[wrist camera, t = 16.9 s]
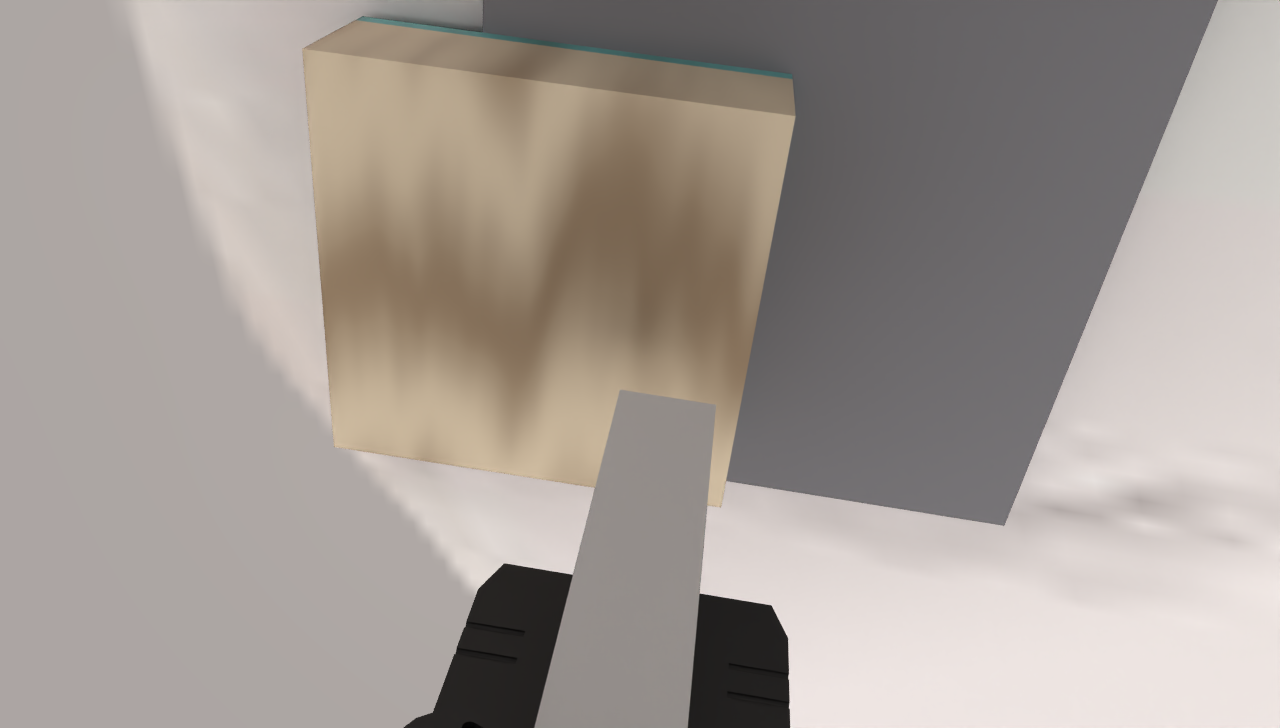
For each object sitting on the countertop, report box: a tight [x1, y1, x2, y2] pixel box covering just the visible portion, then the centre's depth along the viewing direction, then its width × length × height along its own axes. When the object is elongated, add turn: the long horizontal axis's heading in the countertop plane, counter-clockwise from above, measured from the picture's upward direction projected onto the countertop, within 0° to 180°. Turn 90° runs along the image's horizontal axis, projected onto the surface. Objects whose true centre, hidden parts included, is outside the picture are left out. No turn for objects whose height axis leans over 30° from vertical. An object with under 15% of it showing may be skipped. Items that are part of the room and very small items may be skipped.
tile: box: [302, 16, 796, 507], centre depth 21 cm, size 9×3×9 cm
